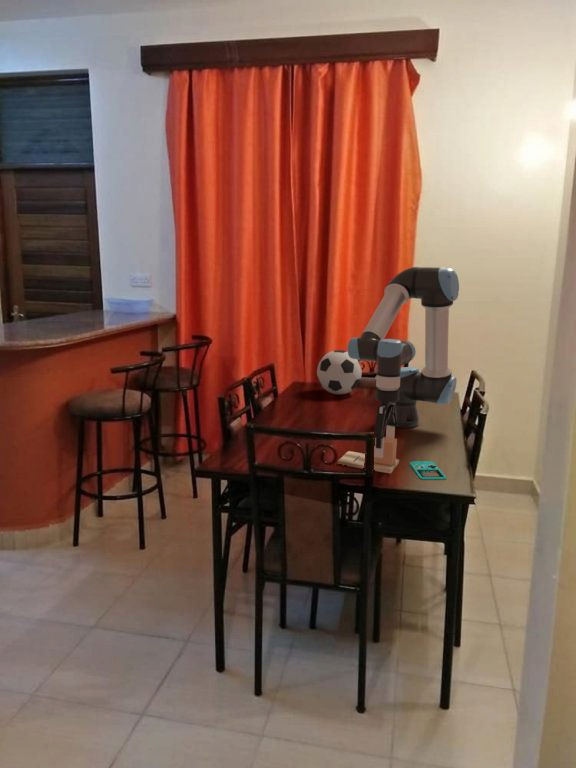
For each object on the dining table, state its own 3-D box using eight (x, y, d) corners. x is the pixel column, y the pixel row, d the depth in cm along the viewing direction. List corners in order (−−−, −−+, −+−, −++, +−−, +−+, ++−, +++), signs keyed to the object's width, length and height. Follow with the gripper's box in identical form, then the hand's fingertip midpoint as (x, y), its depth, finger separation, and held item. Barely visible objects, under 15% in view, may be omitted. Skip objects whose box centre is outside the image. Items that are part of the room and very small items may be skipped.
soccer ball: (307, 392, 289) (308, 349, 284) (339, 387, 302) (341, 345, 297) (336, 401, 272) (338, 355, 267) (369, 395, 285) (372, 351, 280)
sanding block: (375, 458, 194) (376, 435, 192) (395, 461, 191) (397, 438, 189) (370, 463, 189) (372, 440, 188) (391, 466, 187) (393, 443, 185)
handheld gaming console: (432, 460, 195) (447, 477, 180) (432, 463, 195) (447, 480, 180) (408, 460, 194) (421, 477, 179) (408, 463, 194) (420, 481, 180)
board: (348, 454, 201) (348, 450, 201) (399, 462, 194) (399, 459, 194) (337, 464, 191) (337, 460, 191) (390, 473, 184) (390, 470, 184)
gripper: (386, 378, 197) (383, 437, 202) (364, 395, 175) (361, 461, 180) (408, 381, 194) (404, 440, 199) (389, 398, 172) (385, 464, 177)
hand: (384, 450), depth 190 cm, fingers open, 13 cm apart
